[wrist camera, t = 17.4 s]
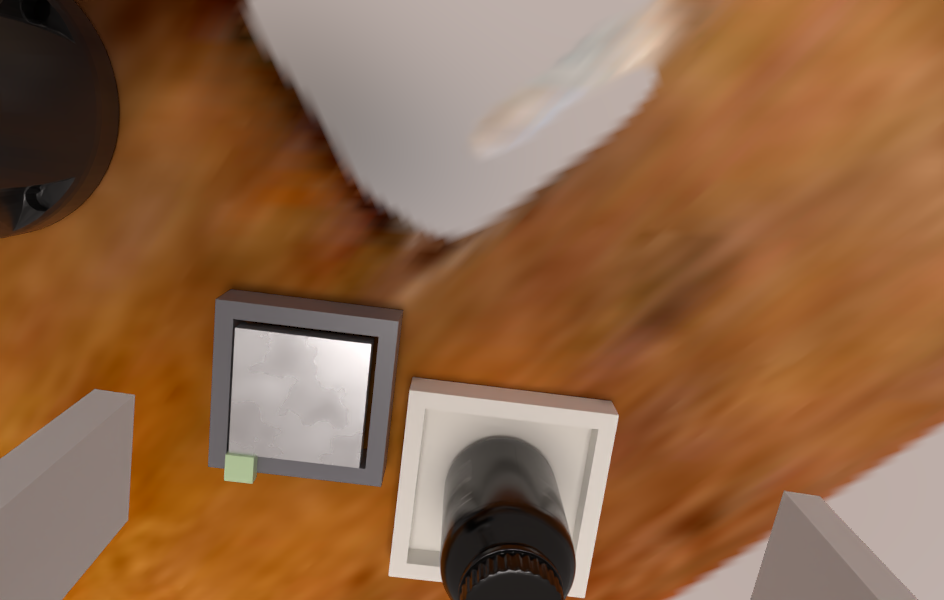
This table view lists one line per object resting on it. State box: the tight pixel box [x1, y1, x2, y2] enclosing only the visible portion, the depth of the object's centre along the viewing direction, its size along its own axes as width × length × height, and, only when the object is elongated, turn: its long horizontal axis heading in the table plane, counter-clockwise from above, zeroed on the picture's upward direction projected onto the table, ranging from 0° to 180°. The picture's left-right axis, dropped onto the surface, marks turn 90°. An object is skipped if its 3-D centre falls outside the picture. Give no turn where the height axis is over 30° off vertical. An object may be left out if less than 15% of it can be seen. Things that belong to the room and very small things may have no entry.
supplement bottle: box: [440, 438, 576, 600], centre depth 37 cm, size 7×7×12 cm
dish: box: [389, 377, 619, 598], centre depth 43 cm, size 12×12×2 cm
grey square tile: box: [229, 322, 374, 468], centre depth 40 cm, size 7×7×1 cm
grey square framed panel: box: [208, 289, 403, 487], centre depth 41 cm, size 10×10×3 cm
